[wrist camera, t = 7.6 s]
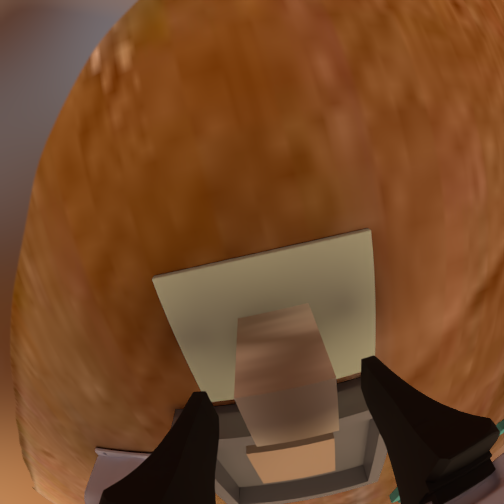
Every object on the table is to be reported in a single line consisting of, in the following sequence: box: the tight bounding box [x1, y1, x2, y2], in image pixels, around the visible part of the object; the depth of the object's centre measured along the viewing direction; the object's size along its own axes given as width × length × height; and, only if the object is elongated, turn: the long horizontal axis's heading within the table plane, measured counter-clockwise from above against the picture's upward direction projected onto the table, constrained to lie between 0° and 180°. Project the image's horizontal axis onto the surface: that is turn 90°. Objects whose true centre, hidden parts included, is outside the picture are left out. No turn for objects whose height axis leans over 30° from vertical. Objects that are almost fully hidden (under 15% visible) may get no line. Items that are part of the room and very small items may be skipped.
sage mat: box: [152, 228, 376, 402], centre depth 16 cm, size 12×10×1 cm
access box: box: [171, 377, 387, 504], centre depth 19 cm, size 16×16×3 cm
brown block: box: [234, 303, 339, 447], centre depth 13 cm, size 4×4×6 cm
